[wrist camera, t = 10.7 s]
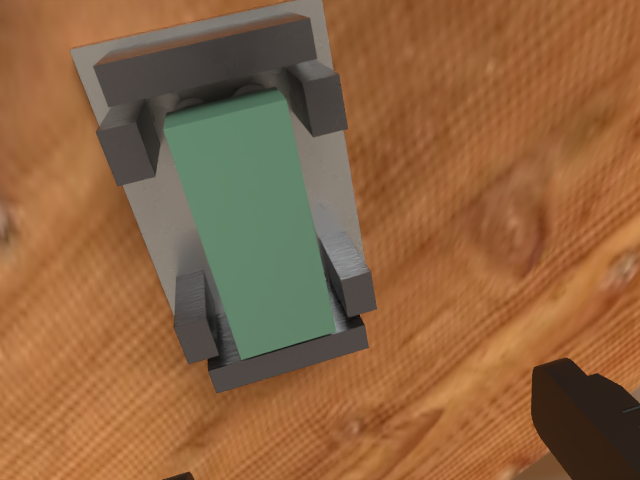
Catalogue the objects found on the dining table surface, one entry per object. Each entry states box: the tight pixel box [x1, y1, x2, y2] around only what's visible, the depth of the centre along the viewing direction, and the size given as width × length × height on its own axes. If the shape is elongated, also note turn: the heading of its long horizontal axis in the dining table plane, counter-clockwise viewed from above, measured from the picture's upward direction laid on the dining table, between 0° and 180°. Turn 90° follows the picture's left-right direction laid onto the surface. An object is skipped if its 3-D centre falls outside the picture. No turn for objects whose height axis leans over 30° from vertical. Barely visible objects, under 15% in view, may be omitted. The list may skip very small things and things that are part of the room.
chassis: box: [70, 0, 377, 393], centre depth 27 cm, size 18×12×6 cm, turn 11°
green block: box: [163, 86, 337, 360], centre depth 25 cm, size 12×5×3 cm, turn 11°
